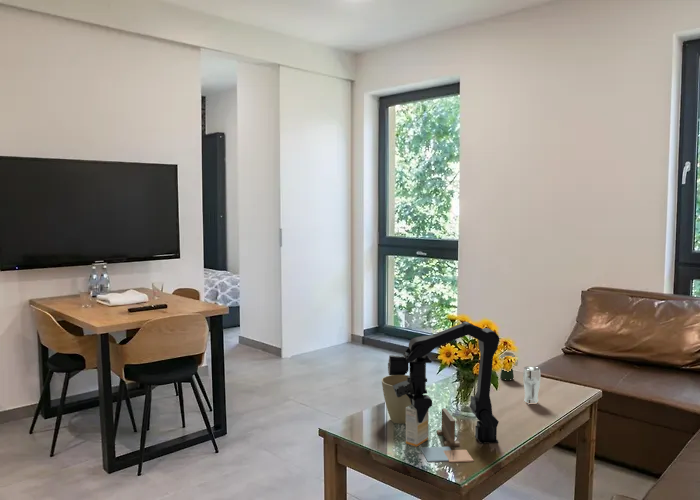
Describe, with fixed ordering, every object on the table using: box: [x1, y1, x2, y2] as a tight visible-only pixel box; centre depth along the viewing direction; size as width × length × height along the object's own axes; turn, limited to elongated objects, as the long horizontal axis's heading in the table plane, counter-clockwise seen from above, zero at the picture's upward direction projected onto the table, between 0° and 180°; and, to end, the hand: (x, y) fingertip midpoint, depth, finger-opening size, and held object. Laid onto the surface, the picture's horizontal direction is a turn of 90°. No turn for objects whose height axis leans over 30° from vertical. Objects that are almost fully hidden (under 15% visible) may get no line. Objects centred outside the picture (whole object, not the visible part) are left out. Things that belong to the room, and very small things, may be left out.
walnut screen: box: [436, 408, 461, 447], centre depth 195 cm, size 5×12×9 cm, turn 6°
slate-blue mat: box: [420, 446, 455, 463], centre depth 183 cm, size 10×10×1 cm
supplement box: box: [405, 405, 430, 447], centre depth 193 cm, size 8×5×13 cm, turn 141°
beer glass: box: [522, 365, 541, 403], centre depth 232 cm, size 7×7×15 cm
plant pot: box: [381, 374, 411, 425], centre depth 213 cm, size 15×15×16 cm
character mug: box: [499, 351, 519, 381], centre depth 264 cm, size 11×7×13 cm, turn 43°
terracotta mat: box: [444, 449, 474, 463], centre depth 182 cm, size 8×8×1 cm
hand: (417, 417), depth 193 cm, fingers closed on supplement box, 8 cm apart
